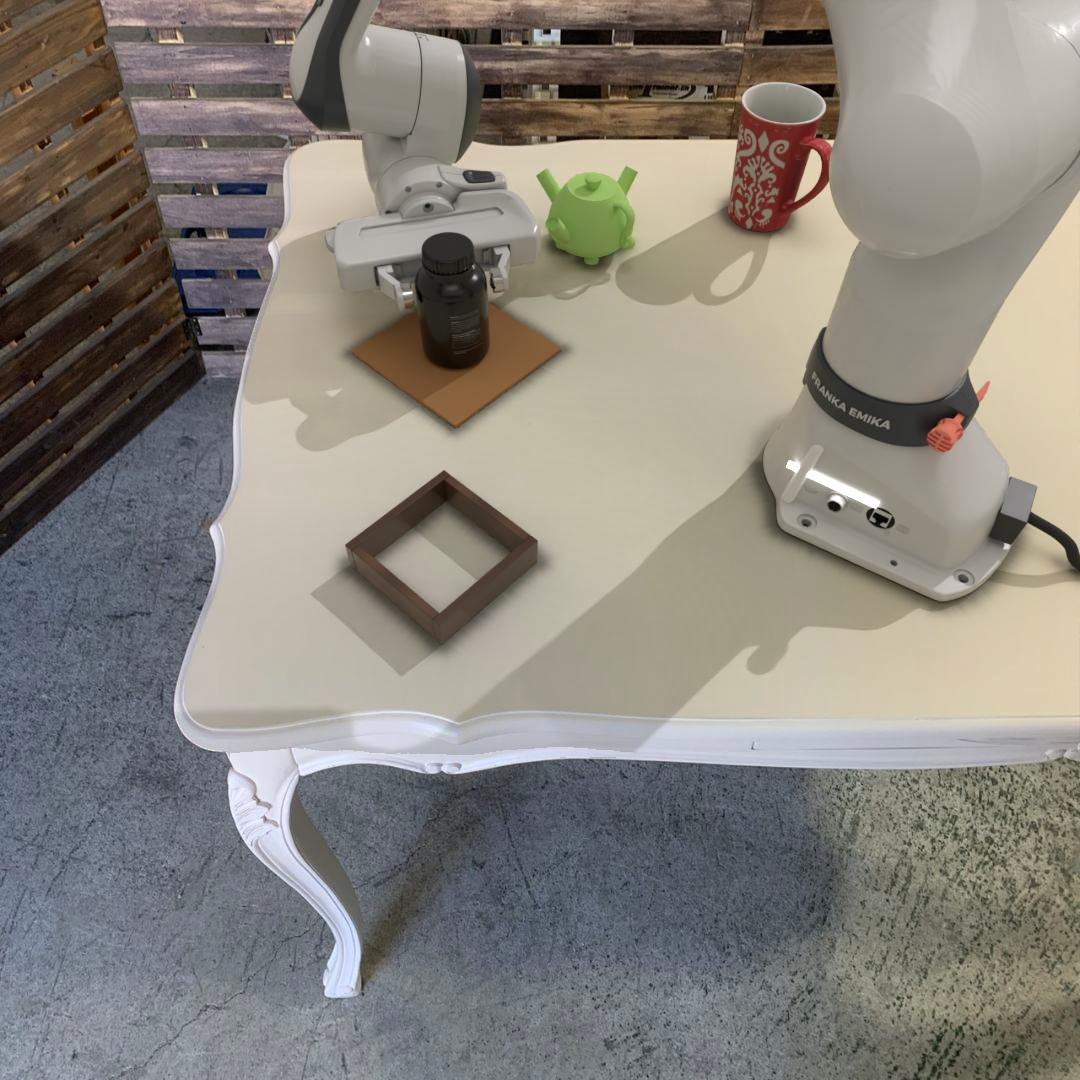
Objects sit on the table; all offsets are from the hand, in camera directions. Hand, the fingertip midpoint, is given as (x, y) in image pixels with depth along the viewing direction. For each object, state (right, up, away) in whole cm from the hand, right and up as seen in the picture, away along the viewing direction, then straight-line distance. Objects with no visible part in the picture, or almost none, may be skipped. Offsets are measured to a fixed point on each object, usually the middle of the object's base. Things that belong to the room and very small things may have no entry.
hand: (454, 294), depth 84 cm
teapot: (+13, +11, +19) cm, 25 cm away
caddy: (0, -25, -9) cm, 27 cm away
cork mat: (0, -4, +7) cm, 8 cm away
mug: (+35, +14, +21) cm, 43 cm away
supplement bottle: (0, -4, +7) cm, 8 cm away
